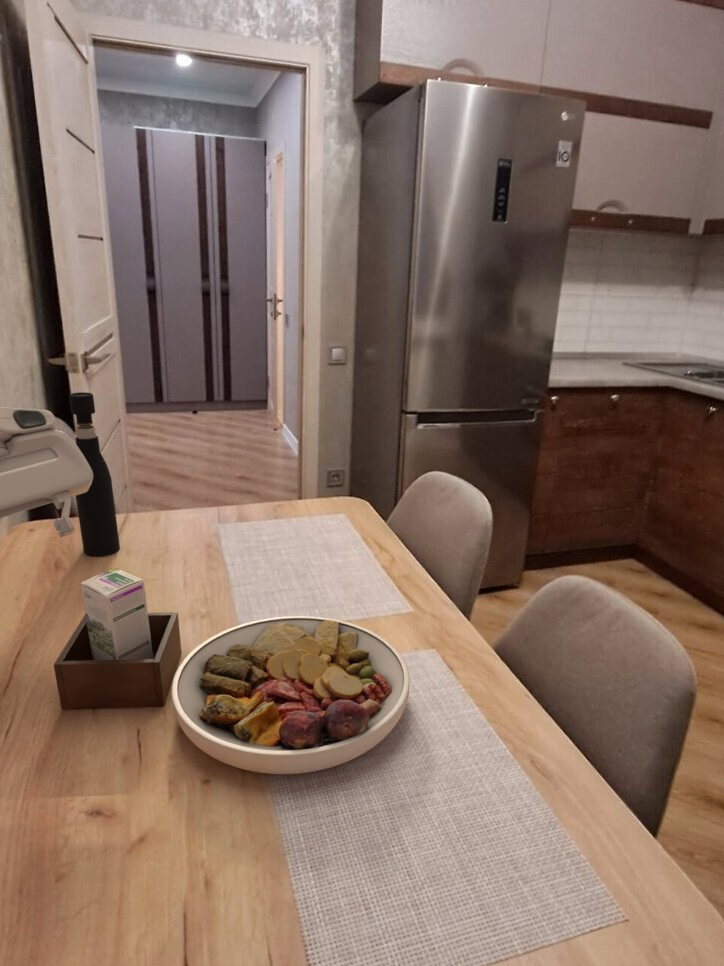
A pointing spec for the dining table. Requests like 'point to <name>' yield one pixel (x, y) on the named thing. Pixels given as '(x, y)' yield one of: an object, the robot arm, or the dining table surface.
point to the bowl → (290, 694)
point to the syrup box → (117, 616)
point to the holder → (119, 670)
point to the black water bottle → (94, 485)
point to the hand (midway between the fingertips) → (25, 548)
